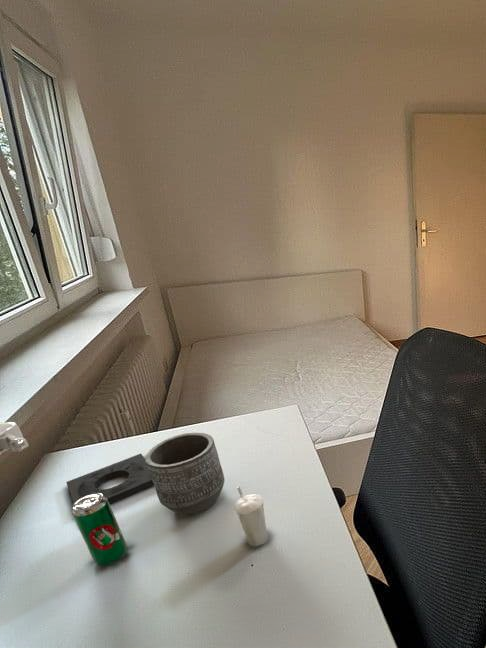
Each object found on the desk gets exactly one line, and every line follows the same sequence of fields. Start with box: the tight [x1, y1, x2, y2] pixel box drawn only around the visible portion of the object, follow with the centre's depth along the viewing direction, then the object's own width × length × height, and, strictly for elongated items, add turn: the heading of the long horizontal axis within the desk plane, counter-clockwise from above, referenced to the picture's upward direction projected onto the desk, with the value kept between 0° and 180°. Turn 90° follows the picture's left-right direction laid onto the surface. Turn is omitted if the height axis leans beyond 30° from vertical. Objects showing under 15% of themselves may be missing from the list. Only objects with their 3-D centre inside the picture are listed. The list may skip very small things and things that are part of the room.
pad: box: [66, 453, 155, 505], centre depth 96 cm, size 15×14×2 cm
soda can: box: [71, 493, 128, 567], centre depth 75 cm, size 5×5×12 cm
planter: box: [144, 432, 226, 517], centre depth 87 cm, size 12×12×13 cm
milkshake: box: [234, 486, 268, 548], centre depth 77 cm, size 4×5×10 cm
